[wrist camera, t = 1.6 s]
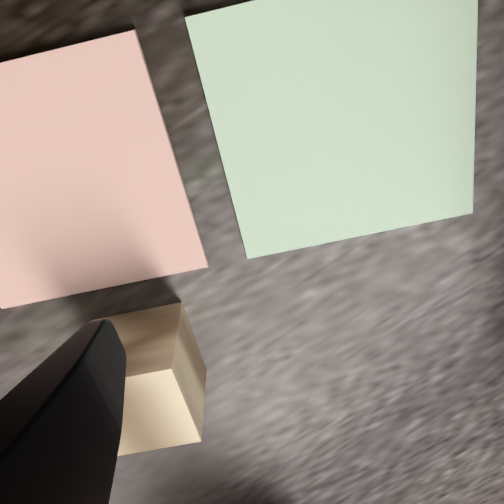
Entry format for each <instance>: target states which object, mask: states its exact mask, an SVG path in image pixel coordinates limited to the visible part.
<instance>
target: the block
mask: <svg viewBox="0 0 504 504" xmlns="http://www.w3.org/2000/svg"><path fill="white" fill-rule="evenodd" d="M104 318H107V319H109V320H110V321H111V322H112V323H113V325H114V327H115V329H116V331H117V333H118V336H119V338H120V340H121V342H122V344H123V346H124V349H125V352H126V358H127V364H126V378H125V393H124V408H123V422H122V432H121V439H120V445H119V450H118V456H121V455H127V454H133V453H138V452H144V451H150V450H156V449H161V448H167V447H173V446H178V445H184V444H190V443H196V442H201V441H202V428H203V413H204V397H205V382H206V367H205V365H204V362H203V359H202V356H201V354H200V351H199V348H198V345H197V343H196V340H195V337H194V334H193V332H192V329H191V326H190V323H189V321H188V318H187V315H186V312H185V310H184V307H183V304H182V302H179V303H174V304H169V305H164V306H159V307H154V308H149V309H144V310H139V311H134V312H129V313H124V314H119V315H114V316H109V317H104ZM104 318H99V319H104ZM99 319H94V320H99ZM94 320H92V321H94Z"/></svg>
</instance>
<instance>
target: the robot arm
mask: <svg viewBox="0 0 504 504" xmlns="http://www.w3.org/2000/svg"><path fill="white" fill-rule="evenodd" d="M126 364H127V358H126V352H125V349H124V346H123V344H122V342H121V340H120V338H119V336H118V333H117V331H116V329H115V327H114V325H113V323H112V322H111V321H110V320H109V319H107V318H104V319H99V320H94V321H89V322H87V323H86V324H85V325H83V326H82V327H81V328H80V329H79V330H78V331H77V332H76V333H75V334H73V335H72V336H71V337H70V338H69V339H68V340H67V341H66V342H65V343H63V344H62V345H61V346H60V347H59V348H58V349H57V350H56V351H54V352H53V353H52V354H51V355H50V356H49V357H48V358H47V359H46V360H44V361H43V362H42V363H41V364H40V365H39V366H38V367H37V368H36V369H34V370H33V371H32V372H31V373H30V374H29V375H28V376H27V377H26V378H24V379H23V380H22V381H21V382H20V383H19V384H18V385H17V386H16V387H14V388H13V389H12V390H11V391H10V392H9V393H8V394H7V395H5V396H4V397H3V398H2V399H1V400H0V504H109V499H110V493H111V488H112V483H113V477H114V472H115V466H116V461H117V456H118V450H119V445H120V439H121V432H122V422H123V408H124V393H125V378H126Z"/></svg>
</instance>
